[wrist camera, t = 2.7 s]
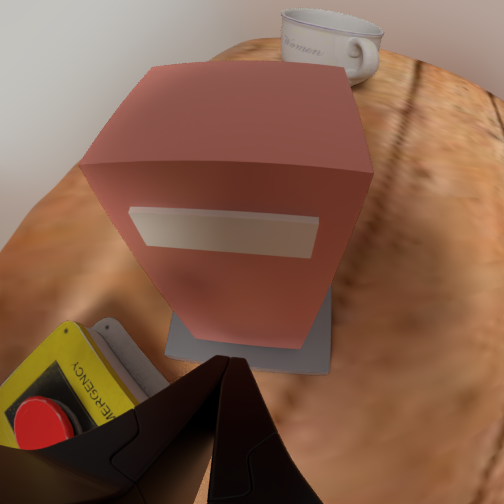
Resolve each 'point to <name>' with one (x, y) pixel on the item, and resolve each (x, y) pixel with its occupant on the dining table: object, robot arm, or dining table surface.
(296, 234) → the pink tall block
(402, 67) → the dining table surface
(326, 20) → the teacup
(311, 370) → the bookend
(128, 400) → the emergency button
